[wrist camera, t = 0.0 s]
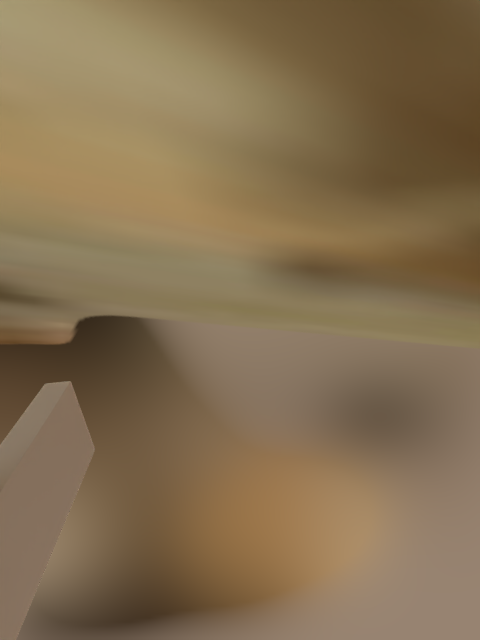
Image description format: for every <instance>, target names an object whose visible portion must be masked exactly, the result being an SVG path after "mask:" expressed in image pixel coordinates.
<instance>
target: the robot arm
mask: <svg viewBox="0 0 480 640" xmlns="http://www.w3.org/2000/svg"><path fill="white" fill-rule="evenodd" d="M94 451H95V448H94V445H93V443H92V440H91V437H90V434H89V431H88V428H87V426H86V423H85V420H84V417H83V414H82V412H81V409H80V406H79V403H78V401H77V398H76V395H75V392H74V389H73V386H72V384H71V381H69V382H59V383H49V384H45V385H44V386H43V387H42V389H41V390H40V392H39V393H38V394H37V396H36V397H35V399H34V400H33V401H32V403H31V404H30V405H29V407H28V408H27V409H26V411H25V412H24V413H23V415H22V416H21V418H20V419H19V420H18V422H17V423H16V424H15V426H14V427H13V429H12V430H11V431H10V432H9V434H8V435H7V437H6V438H5V439H4V441H3V442H2V443H1V445H0V640H16V638H17V636H18V633H19V631H20V628H21V626H22V624H23V621H24V619H25V616H26V614H27V612H28V609H29V607H30V604H31V602H32V599H33V597H34V595H35V592H36V590H37V588H38V585H39V583H40V580H41V578H42V576H43V573H44V571H45V568H46V566H47V564H48V561H49V559H50V556H51V554H52V552H53V549H54V547H55V544H56V542H57V540H58V537H59V535H60V532H61V530H62V528H63V525H64V523H65V520H66V518H67V516H68V513H69V511H70V508H71V506H72V504H73V501H74V499H75V496H76V494H77V492H78V489H79V487H80V484H81V482H82V480H83V477H84V475H85V472H86V470H87V468H88V465H89V463H90V461H91V458H92V456H93V453H94Z"/></svg>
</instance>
